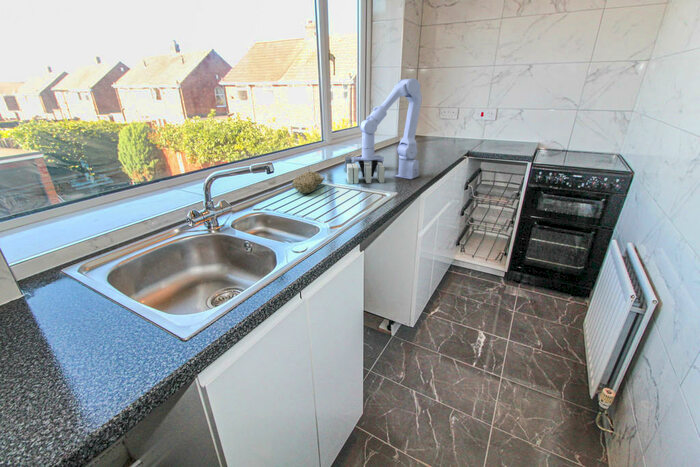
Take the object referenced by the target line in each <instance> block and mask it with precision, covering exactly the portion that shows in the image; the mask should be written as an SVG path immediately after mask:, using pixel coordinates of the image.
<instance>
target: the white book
mask: <svg viewBox="0 0 700 467" xmlns="http://www.w3.org/2000/svg"><path fill="white" fill-rule="evenodd" d="M364 164H365V165H364V174H365V177H363V178H364V181H365V183H366V184H372V176H371V170H372V167H371V164H370V162H364Z"/></svg>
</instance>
